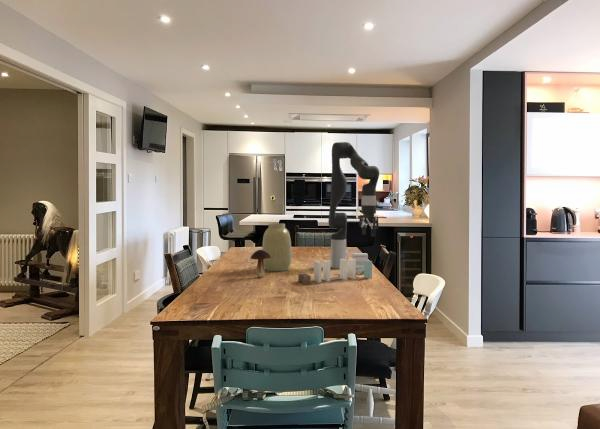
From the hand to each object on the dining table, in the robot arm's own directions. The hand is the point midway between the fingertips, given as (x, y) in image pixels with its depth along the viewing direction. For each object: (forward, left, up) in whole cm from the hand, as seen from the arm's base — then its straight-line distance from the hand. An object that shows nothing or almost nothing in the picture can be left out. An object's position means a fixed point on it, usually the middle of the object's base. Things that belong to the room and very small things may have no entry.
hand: (368, 235), depth 232 cm
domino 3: (-3, -13, -22) cm, 26 cm away
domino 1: (-3, -28, -22) cm, 36 cm away
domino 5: (0, 0, -23) cm, 23 cm away
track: (-3, -22, -23) cm, 32 cm away
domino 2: (-3, -23, -22) cm, 32 cm away
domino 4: (-3, -8, -22) cm, 24 cm away
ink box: (-14, +4, -23) cm, 28 cm away
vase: (-48, -32, -23) cm, 62 cm away
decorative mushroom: (-29, -49, -23) cm, 62 cm away
